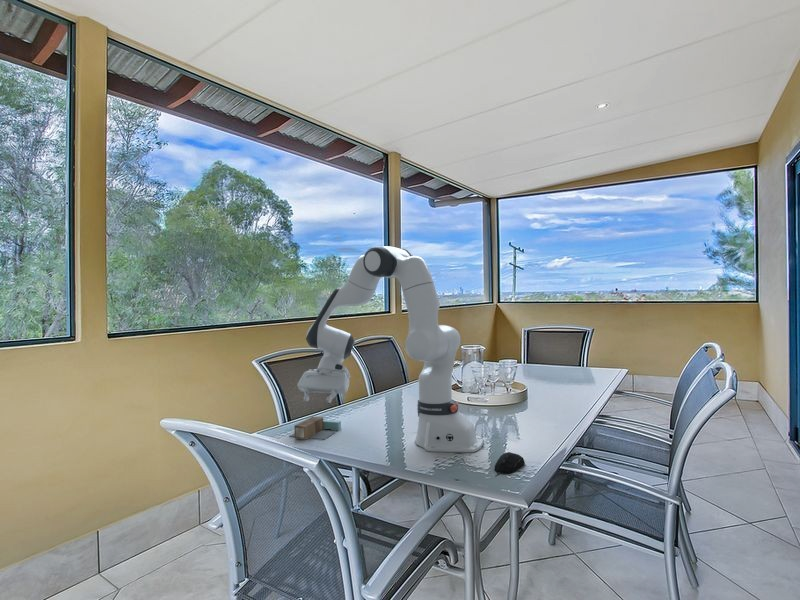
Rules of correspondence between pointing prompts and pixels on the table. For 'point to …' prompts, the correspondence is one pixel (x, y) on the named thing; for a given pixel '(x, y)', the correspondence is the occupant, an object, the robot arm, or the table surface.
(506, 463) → the gaming mouse
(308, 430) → the walnut block
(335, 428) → the teal rail
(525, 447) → the table surface
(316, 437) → the rubber mat
